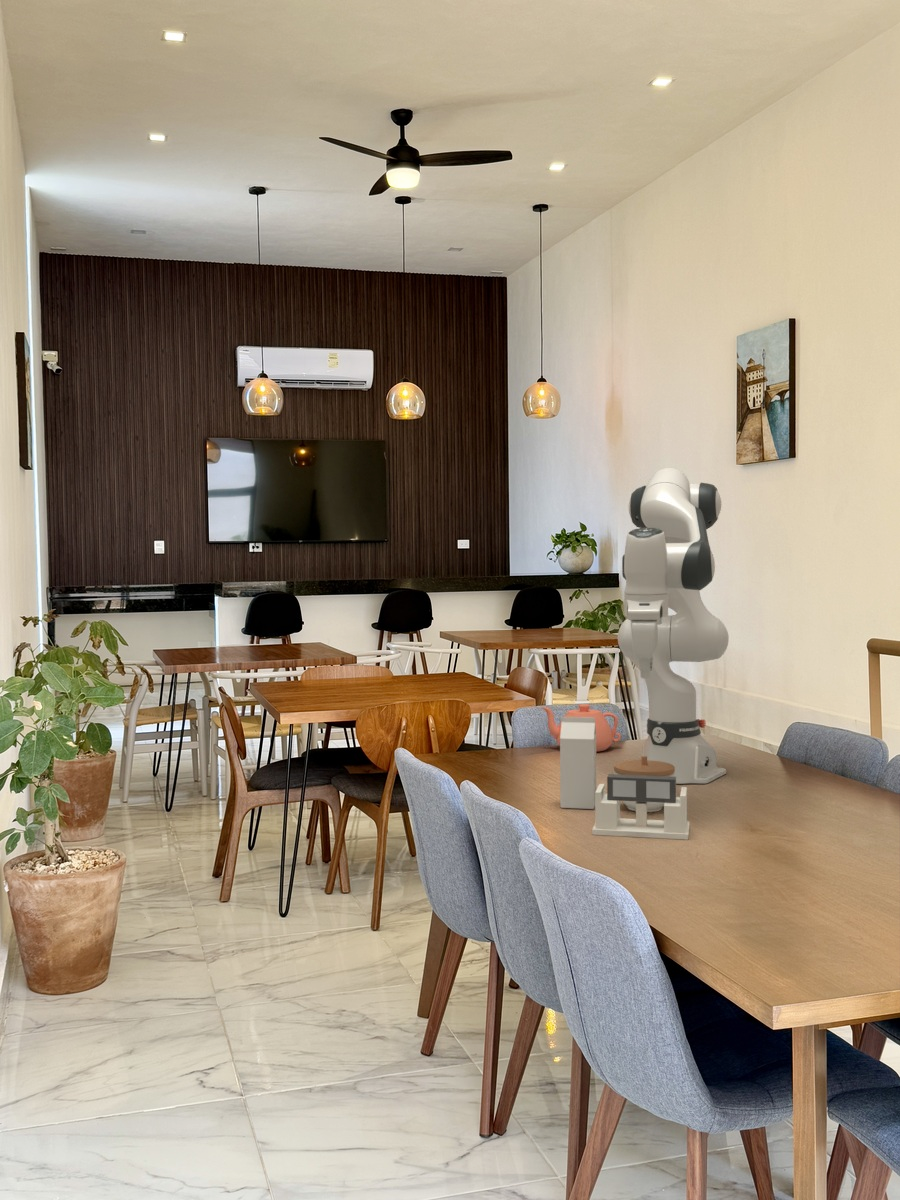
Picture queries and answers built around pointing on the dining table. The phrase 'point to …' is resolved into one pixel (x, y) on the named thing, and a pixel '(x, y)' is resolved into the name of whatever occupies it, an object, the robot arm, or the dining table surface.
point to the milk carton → (578, 762)
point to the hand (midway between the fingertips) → (646, 674)
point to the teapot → (602, 727)
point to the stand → (640, 819)
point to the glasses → (641, 788)
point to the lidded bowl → (644, 769)
